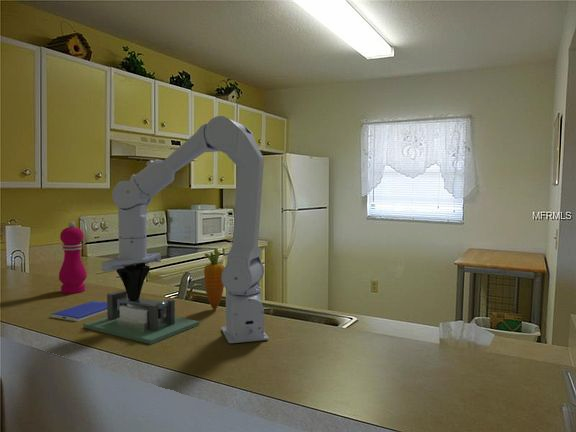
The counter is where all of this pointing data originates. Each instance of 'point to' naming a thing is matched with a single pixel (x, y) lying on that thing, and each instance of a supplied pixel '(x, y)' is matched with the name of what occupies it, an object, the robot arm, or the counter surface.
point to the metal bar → (141, 302)
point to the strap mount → (153, 310)
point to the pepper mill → (72, 261)
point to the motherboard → (147, 336)
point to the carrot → (214, 279)
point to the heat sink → (138, 317)
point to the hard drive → (82, 311)
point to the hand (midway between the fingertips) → (133, 299)
